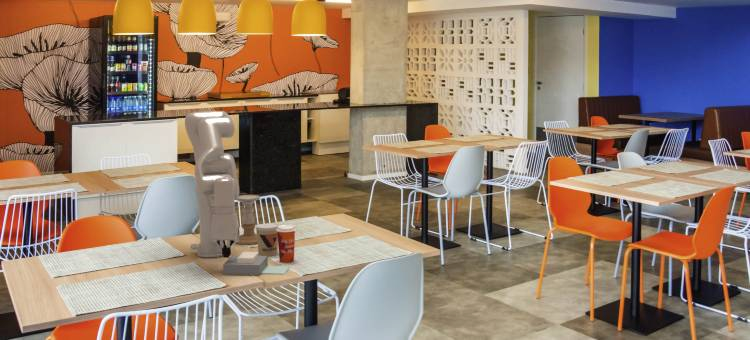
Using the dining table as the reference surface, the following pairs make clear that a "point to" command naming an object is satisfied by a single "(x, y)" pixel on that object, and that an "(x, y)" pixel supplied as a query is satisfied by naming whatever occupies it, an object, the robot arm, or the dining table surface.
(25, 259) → the dining table surface
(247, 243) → the candle holder
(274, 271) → the mat
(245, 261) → the pale pink flat block
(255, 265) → the grey flat block
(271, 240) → the coffee cup
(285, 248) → the paper cup
